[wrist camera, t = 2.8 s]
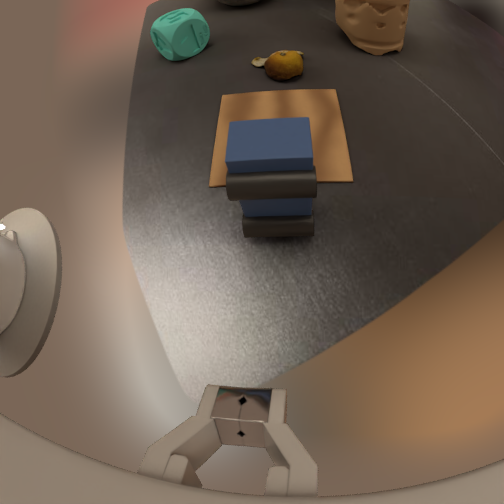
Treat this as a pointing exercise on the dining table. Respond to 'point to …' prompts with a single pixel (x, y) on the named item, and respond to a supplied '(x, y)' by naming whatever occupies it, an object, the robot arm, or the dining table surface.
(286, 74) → the fruit
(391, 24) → the container
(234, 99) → the brown flat square board
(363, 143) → the dining table surface
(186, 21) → the decorative dice
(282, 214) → the toy car
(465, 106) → the dining table surface
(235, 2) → the cup
